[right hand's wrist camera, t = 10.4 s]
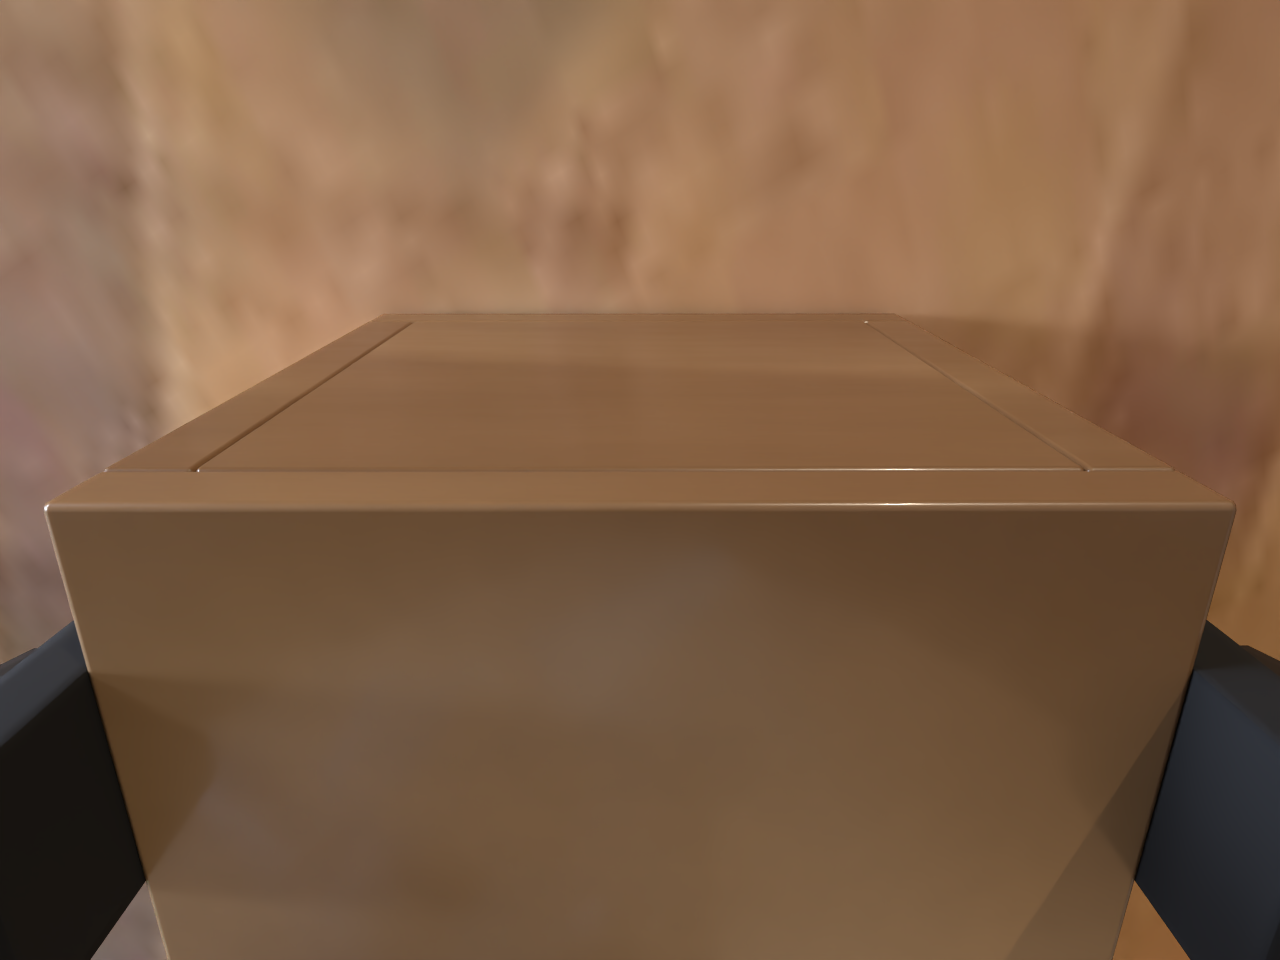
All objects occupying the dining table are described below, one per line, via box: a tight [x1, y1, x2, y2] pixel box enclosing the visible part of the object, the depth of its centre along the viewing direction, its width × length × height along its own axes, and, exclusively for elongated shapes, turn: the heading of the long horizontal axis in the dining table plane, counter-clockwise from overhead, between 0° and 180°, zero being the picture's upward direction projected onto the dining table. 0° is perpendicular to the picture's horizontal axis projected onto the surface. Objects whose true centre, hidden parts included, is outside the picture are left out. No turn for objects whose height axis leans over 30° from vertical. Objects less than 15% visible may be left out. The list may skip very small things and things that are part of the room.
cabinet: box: [44, 314, 1236, 960], centre depth 16 cm, size 20×11×10 cm, turn 0°
